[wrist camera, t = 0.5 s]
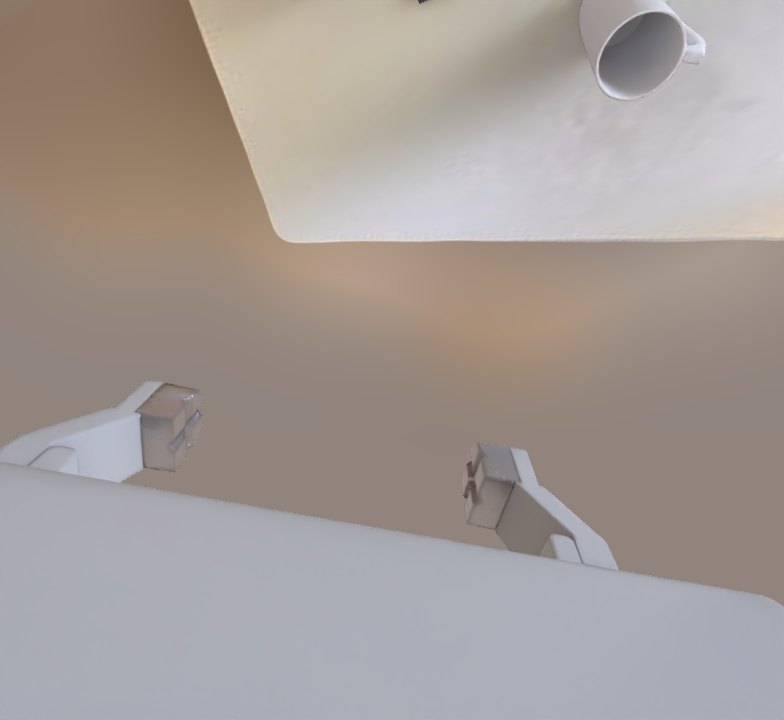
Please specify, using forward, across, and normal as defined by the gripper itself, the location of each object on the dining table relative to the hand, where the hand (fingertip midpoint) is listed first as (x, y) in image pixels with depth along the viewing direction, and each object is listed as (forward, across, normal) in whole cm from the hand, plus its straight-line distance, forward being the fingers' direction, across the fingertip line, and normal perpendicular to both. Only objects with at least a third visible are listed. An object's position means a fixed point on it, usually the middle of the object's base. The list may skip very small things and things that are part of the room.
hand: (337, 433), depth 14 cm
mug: (+46, -19, -22) cm, 55 cm away
